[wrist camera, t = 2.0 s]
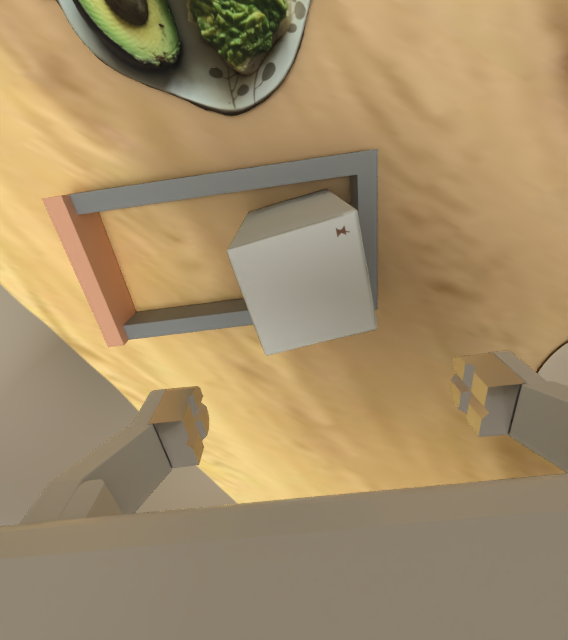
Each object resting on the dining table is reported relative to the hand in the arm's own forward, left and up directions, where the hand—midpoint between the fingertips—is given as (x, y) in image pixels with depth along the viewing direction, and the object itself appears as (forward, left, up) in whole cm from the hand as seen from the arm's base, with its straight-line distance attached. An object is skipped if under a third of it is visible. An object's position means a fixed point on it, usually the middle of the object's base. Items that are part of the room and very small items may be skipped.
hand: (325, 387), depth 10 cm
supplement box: (0, 0, -21) cm, 21 cm away
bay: (+6, 0, -21) cm, 22 cm away
